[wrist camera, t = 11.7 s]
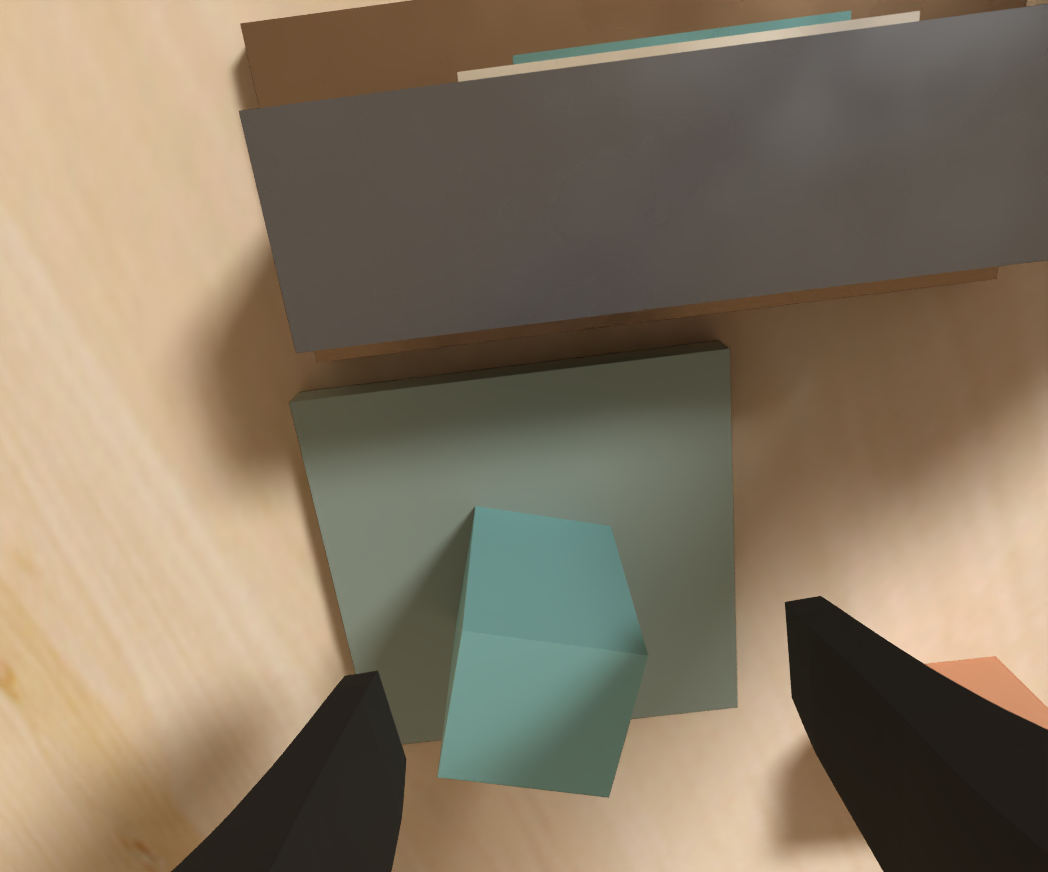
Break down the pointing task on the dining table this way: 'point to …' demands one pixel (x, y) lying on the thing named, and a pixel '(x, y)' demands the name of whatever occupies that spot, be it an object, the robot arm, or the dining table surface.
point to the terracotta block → (995, 686)
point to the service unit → (637, 159)
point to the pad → (530, 508)
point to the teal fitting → (541, 657)
